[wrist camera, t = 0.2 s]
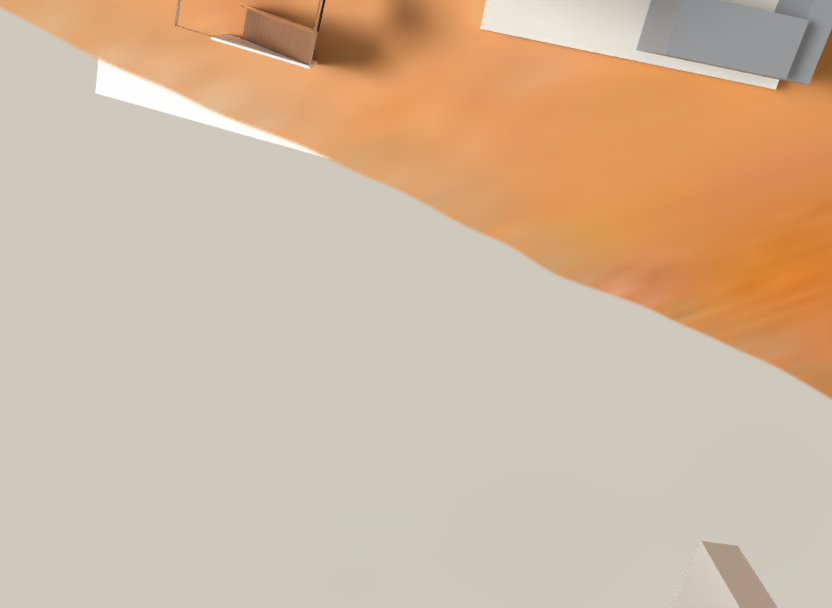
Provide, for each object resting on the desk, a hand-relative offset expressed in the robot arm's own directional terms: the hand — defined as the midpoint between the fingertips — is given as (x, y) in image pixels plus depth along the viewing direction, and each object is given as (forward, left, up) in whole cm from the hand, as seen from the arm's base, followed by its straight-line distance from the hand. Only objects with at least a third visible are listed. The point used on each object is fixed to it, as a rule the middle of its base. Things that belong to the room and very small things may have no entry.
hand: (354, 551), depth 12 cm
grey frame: (-8, -7, -28) cm, 30 cm away
